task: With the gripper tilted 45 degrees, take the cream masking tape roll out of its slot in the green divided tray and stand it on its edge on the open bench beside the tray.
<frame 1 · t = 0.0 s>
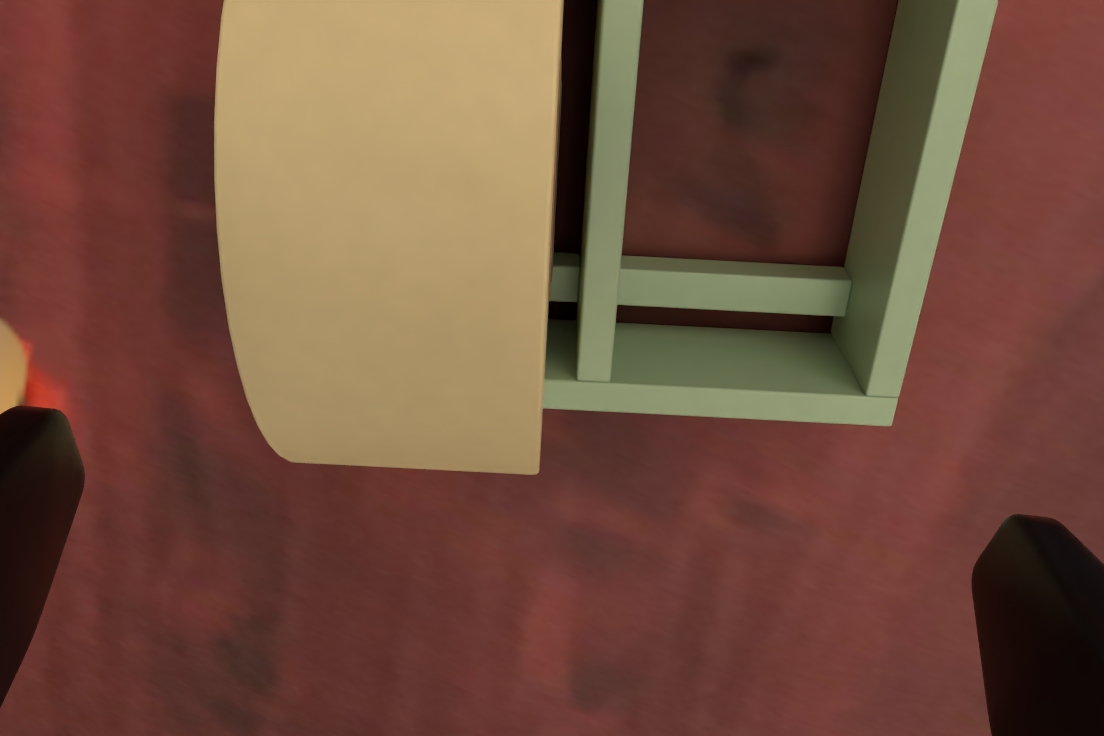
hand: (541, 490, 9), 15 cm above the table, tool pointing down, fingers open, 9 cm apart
masking tape roll: (435, 177, 18), point 5 cm above the table
green divided tray: (605, 120, 23), on the table
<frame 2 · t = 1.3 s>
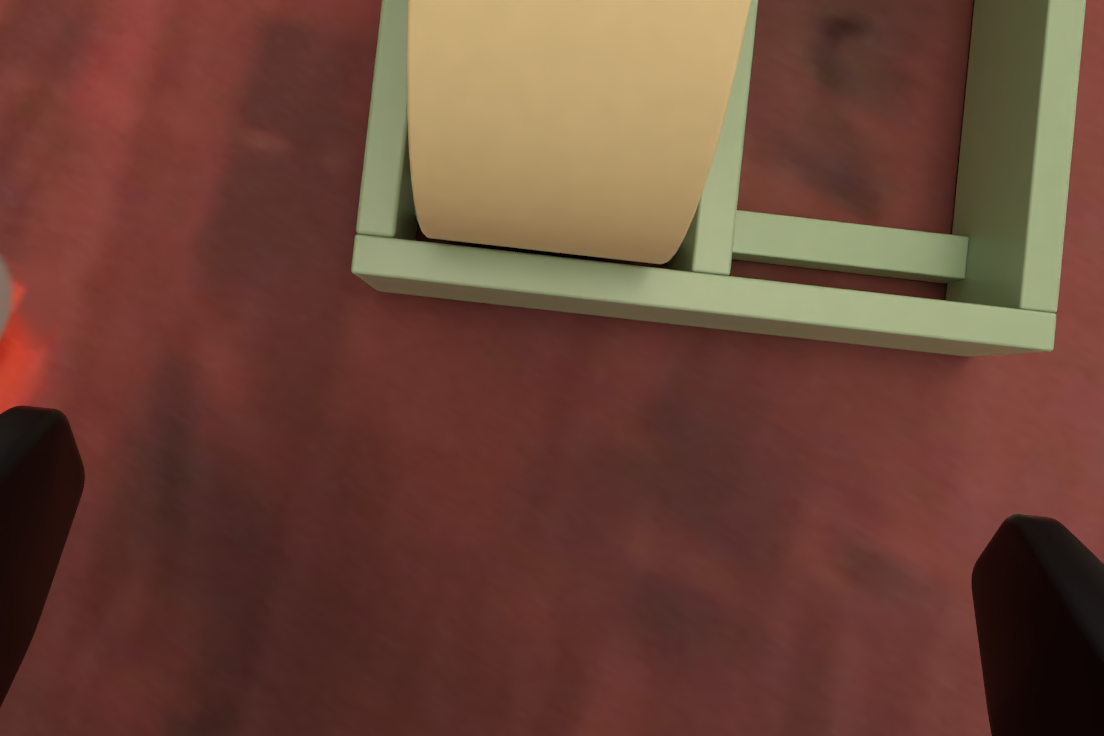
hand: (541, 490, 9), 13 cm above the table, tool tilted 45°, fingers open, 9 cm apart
green divided tray: (703, 73, 23), on the table
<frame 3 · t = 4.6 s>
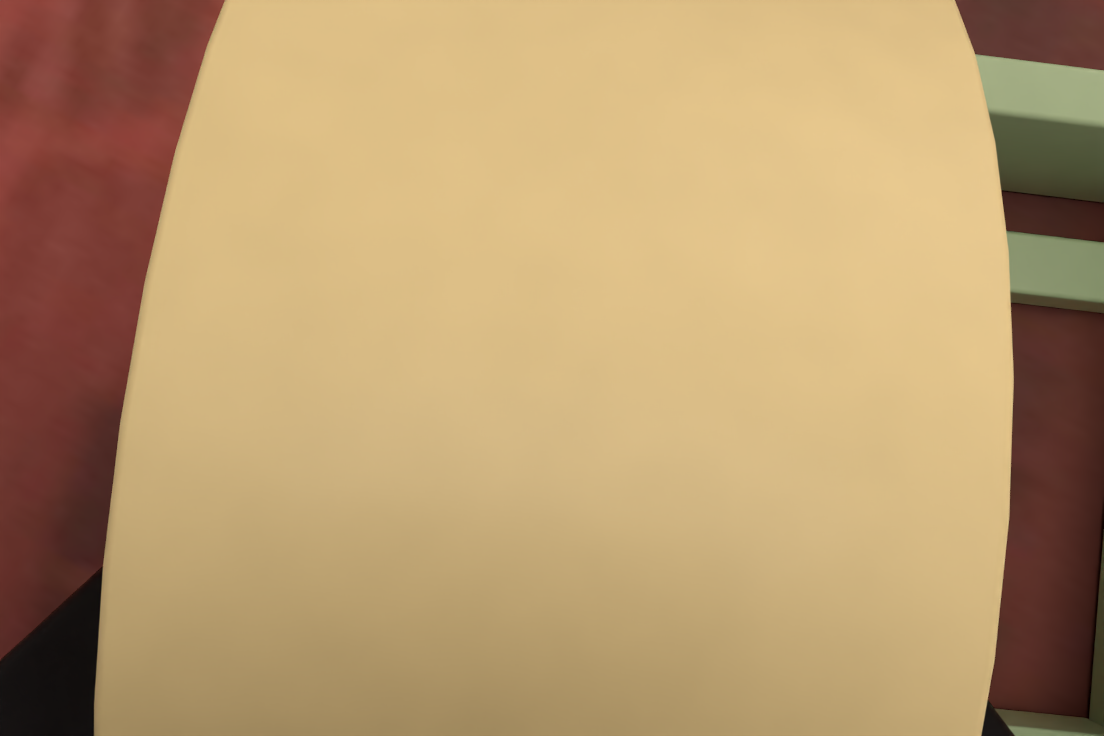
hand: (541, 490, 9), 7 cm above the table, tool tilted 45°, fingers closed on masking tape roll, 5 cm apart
masking tape roll: (538, 455, 10), point 5 cm above the table, touching gripper, green divided tray
green divided tray: (731, 473, 16), on the table
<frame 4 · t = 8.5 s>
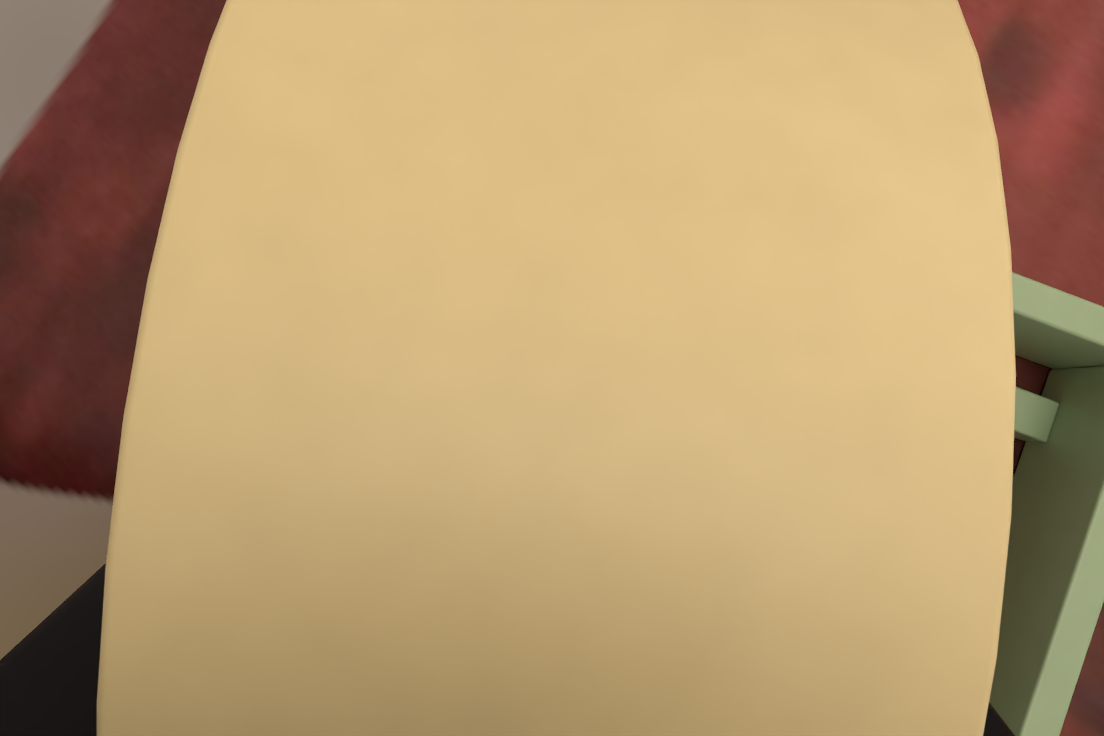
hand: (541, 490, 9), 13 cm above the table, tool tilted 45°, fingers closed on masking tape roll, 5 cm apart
masking tape roll: (539, 454, 10), point 12 cm above the table, touching gripper
green divided tray: (994, 579, 23), on the table
when the fingers open (7 cm above the table, at t = 12.4 s): masking tape roll stays where it is, point 5 cm above the table.
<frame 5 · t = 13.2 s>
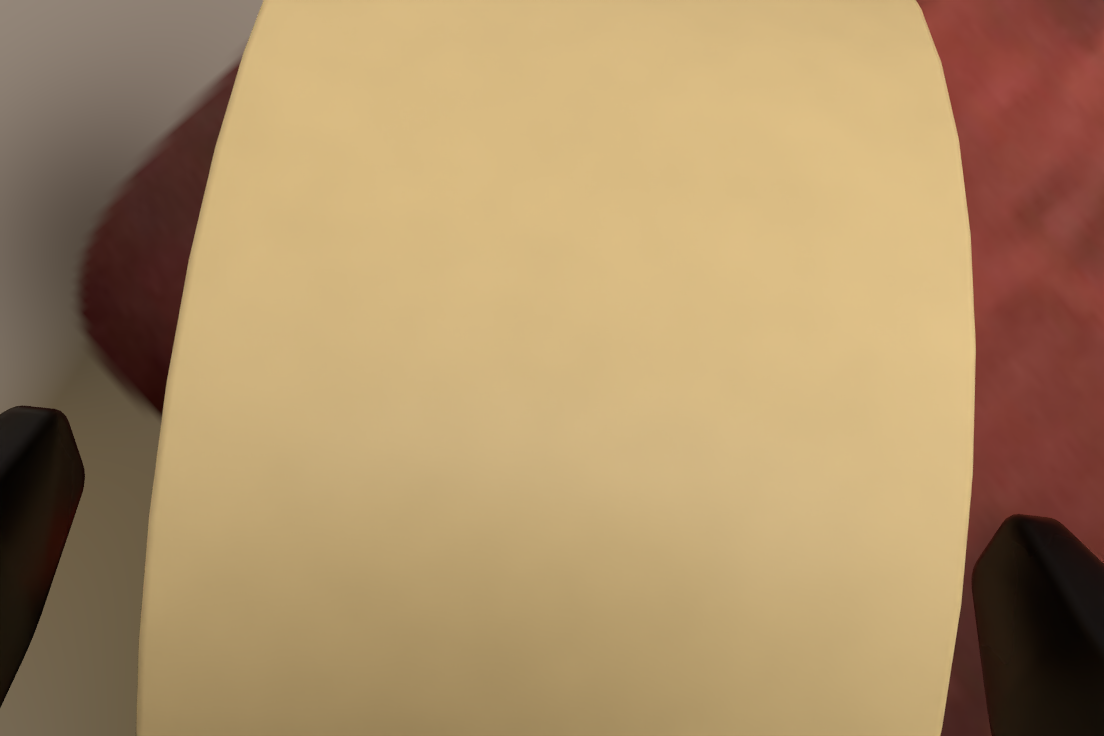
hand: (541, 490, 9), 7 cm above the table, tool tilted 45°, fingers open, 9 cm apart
masking tape roll: (539, 451, 11), point 5 cm above the table
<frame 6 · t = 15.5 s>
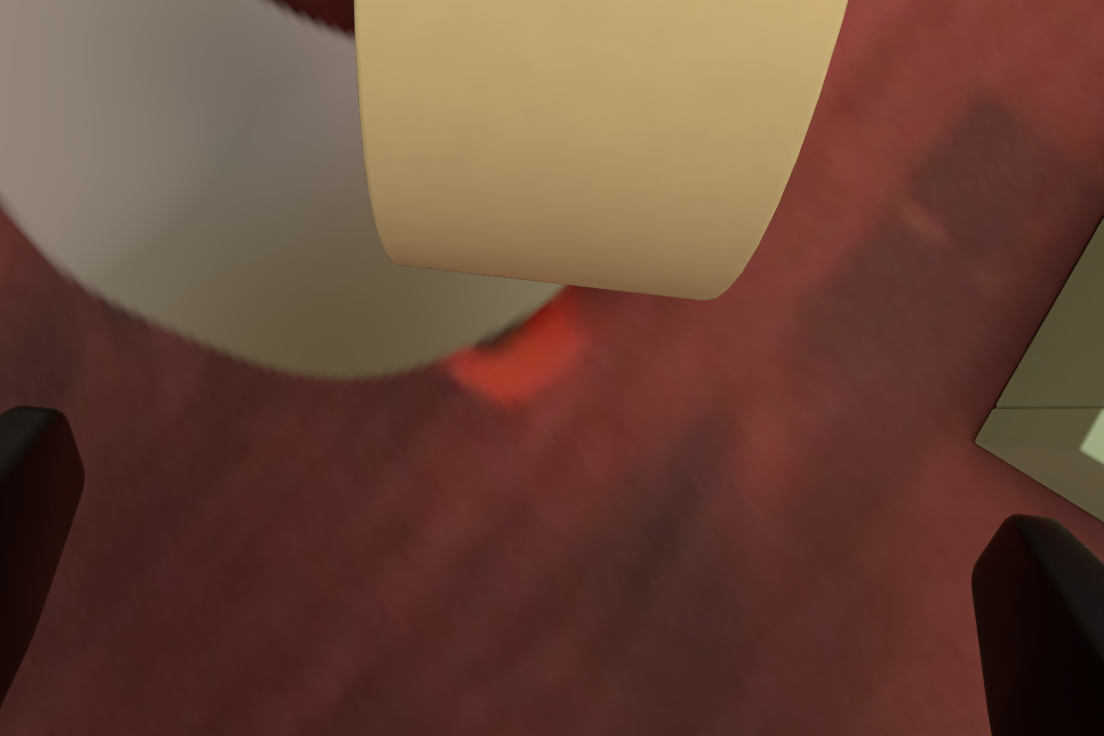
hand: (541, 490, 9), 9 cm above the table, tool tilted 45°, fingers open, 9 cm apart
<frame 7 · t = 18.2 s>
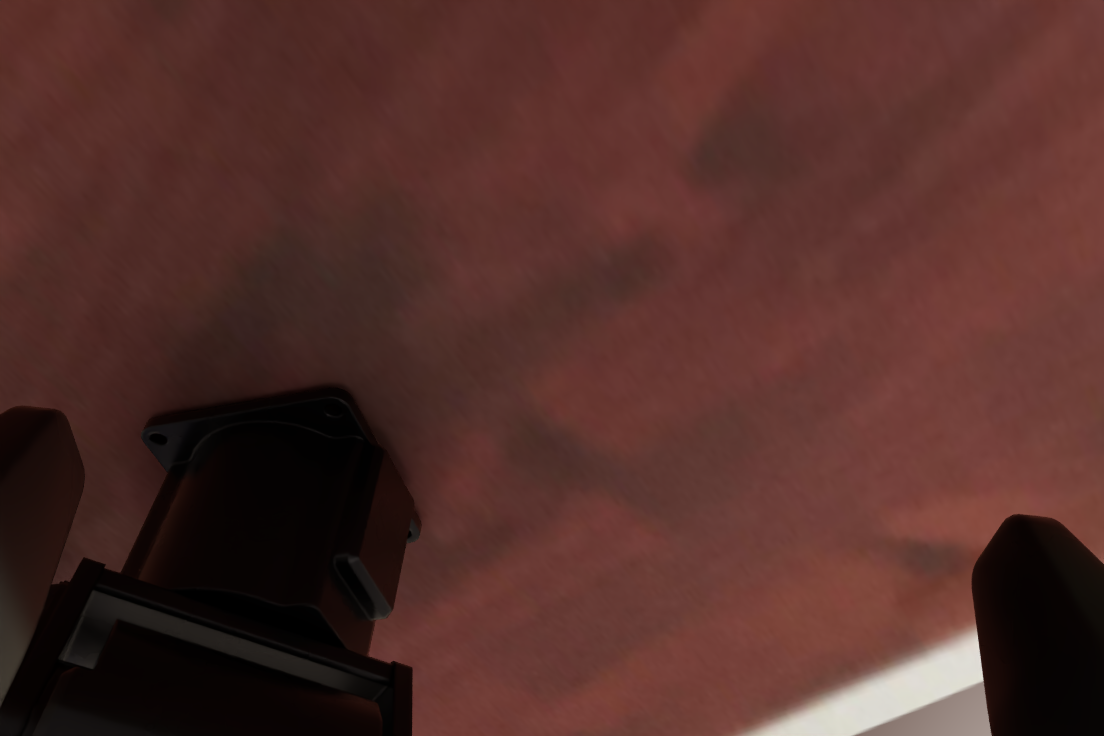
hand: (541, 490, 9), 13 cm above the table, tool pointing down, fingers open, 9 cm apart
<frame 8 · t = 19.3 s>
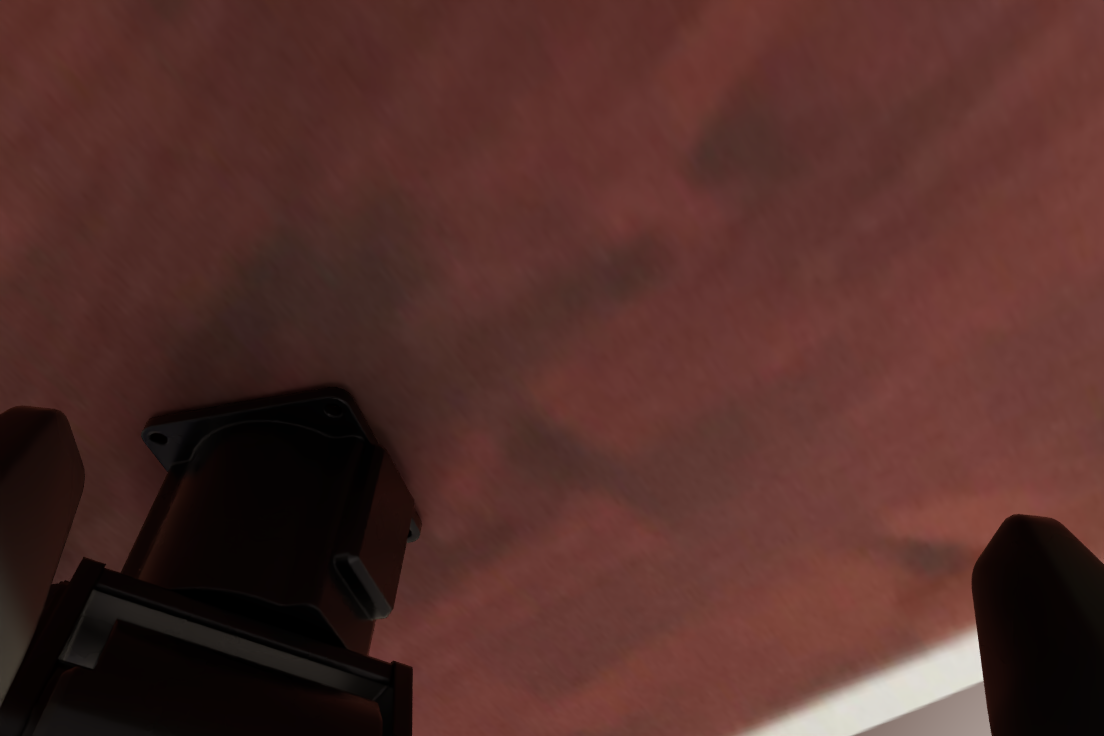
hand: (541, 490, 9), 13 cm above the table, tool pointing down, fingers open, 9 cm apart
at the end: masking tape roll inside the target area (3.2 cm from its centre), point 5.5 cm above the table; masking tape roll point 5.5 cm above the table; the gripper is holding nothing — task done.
